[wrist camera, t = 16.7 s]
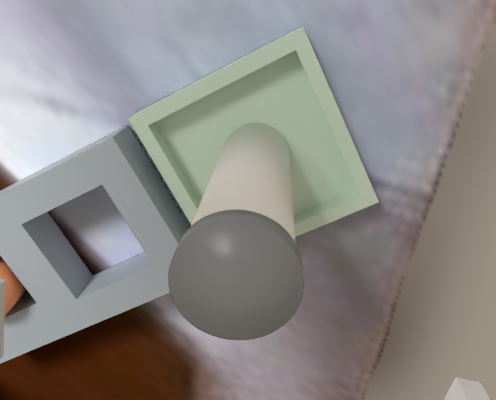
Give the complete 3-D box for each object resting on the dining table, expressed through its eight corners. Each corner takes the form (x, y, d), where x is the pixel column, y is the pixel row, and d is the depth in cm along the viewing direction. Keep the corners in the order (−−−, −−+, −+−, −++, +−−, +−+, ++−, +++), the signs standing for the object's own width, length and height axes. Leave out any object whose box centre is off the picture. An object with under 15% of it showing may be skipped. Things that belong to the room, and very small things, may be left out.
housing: (-78, 231, 38) (-111, 251, 35) (127, 124, 34) (112, 137, 31) (11, 340, 42) (-10, 367, 39) (206, 256, 38) (200, 279, 35)
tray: (135, 112, 34) (127, 118, 32) (301, 26, 31) (303, 27, 29) (220, 256, 38) (217, 269, 36) (373, 191, 35) (379, 202, 33)
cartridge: (213, 179, 35) (158, 323, 19) (228, 111, 33) (180, 207, 17) (281, 196, 35) (283, 352, 19) (300, 129, 33) (320, 241, 17)
